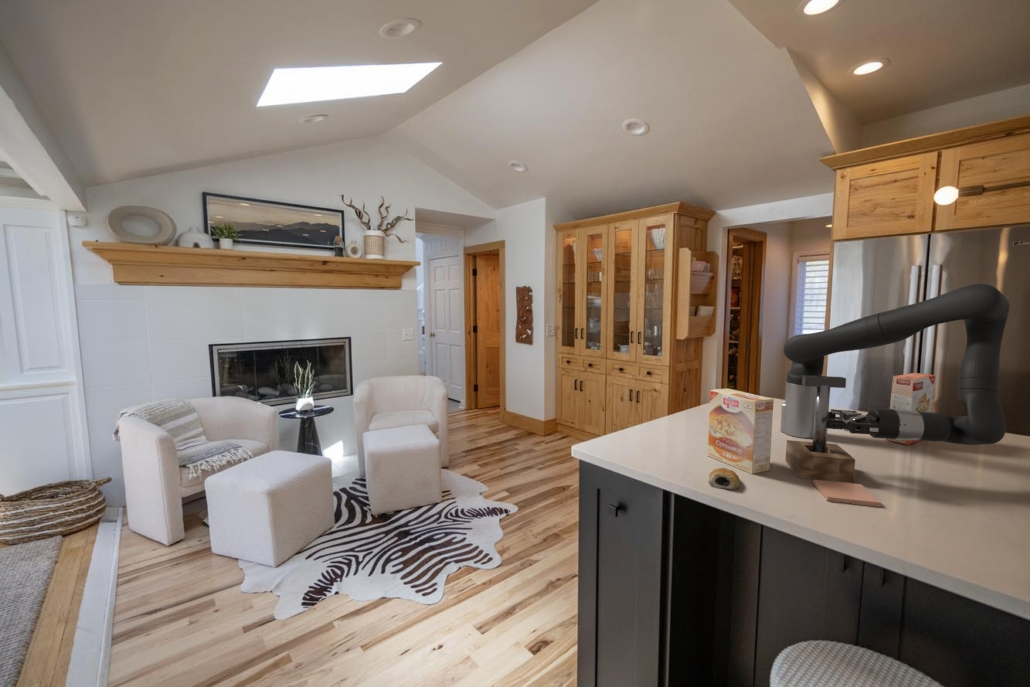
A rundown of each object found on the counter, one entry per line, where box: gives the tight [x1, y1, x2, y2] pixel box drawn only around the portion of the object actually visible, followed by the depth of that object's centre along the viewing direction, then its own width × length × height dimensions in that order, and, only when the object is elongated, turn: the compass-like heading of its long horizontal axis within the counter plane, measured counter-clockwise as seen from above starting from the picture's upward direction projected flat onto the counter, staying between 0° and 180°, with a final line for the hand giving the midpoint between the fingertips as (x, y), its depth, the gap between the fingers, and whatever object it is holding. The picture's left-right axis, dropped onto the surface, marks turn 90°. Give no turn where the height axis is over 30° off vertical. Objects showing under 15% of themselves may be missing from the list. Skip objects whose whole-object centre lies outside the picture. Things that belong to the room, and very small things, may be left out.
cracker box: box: [886, 372, 936, 446], centre depth 144 cm, size 14×6×21 cm, turn 118°
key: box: [802, 375, 847, 453], centre depth 118 cm, size 9×4×23 cm, turn 73°
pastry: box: [707, 467, 741, 490], centre depth 113 cm, size 9×7×4 cm
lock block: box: [785, 439, 856, 484], centre depth 120 cm, size 12×12×6 cm
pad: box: [812, 479, 882, 508], centre depth 106 cm, size 10×10×1 cm
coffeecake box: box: [707, 388, 775, 475], centre depth 125 cm, size 15×7×20 cm, turn 23°
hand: (819, 419), depth 118 cm, fingers open, 8 cm apart
